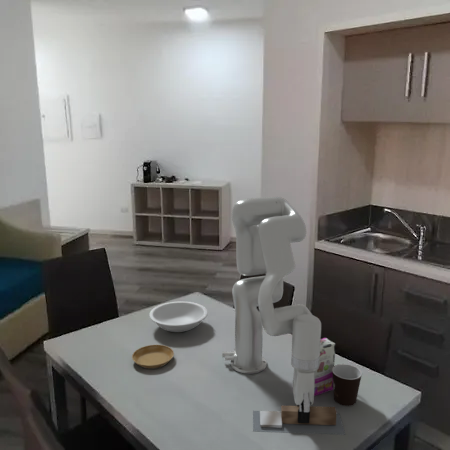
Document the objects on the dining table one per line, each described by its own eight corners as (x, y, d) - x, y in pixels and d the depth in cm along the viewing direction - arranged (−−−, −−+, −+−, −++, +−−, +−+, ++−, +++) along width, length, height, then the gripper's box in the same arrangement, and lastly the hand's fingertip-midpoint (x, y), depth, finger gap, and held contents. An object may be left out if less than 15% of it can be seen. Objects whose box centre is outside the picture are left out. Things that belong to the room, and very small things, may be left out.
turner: (260, 427, 125) (260, 414, 124) (259, 413, 131) (259, 401, 130) (336, 429, 123) (337, 416, 123) (333, 415, 129) (333, 403, 128)
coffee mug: (354, 413, 132) (357, 382, 129) (326, 403, 136) (328, 374, 134) (365, 393, 141) (367, 364, 139) (338, 385, 146) (340, 357, 143)
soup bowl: (159, 313, 200) (158, 299, 199) (212, 316, 197) (212, 302, 195) (142, 338, 177) (141, 323, 176) (202, 342, 174) (201, 327, 172)
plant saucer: (132, 374, 153) (132, 367, 152) (132, 353, 167) (131, 346, 166) (176, 369, 156) (175, 362, 155) (172, 349, 170) (171, 342, 169)
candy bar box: (323, 382, 147) (325, 336, 143) (333, 390, 143) (336, 343, 139) (295, 392, 142) (297, 344, 138) (305, 400, 138) (307, 351, 134)
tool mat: (253, 432, 123) (253, 431, 123) (253, 412, 132) (253, 410, 132) (345, 436, 122) (345, 434, 122) (339, 415, 131) (339, 413, 131)
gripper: (289, 345, 131) (287, 401, 135) (294, 375, 115) (291, 438, 119) (315, 346, 130) (312, 402, 134) (323, 376, 115) (320, 439, 119)
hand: (302, 418), depth 127 cm, fingers closed on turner, 2 cm apart
